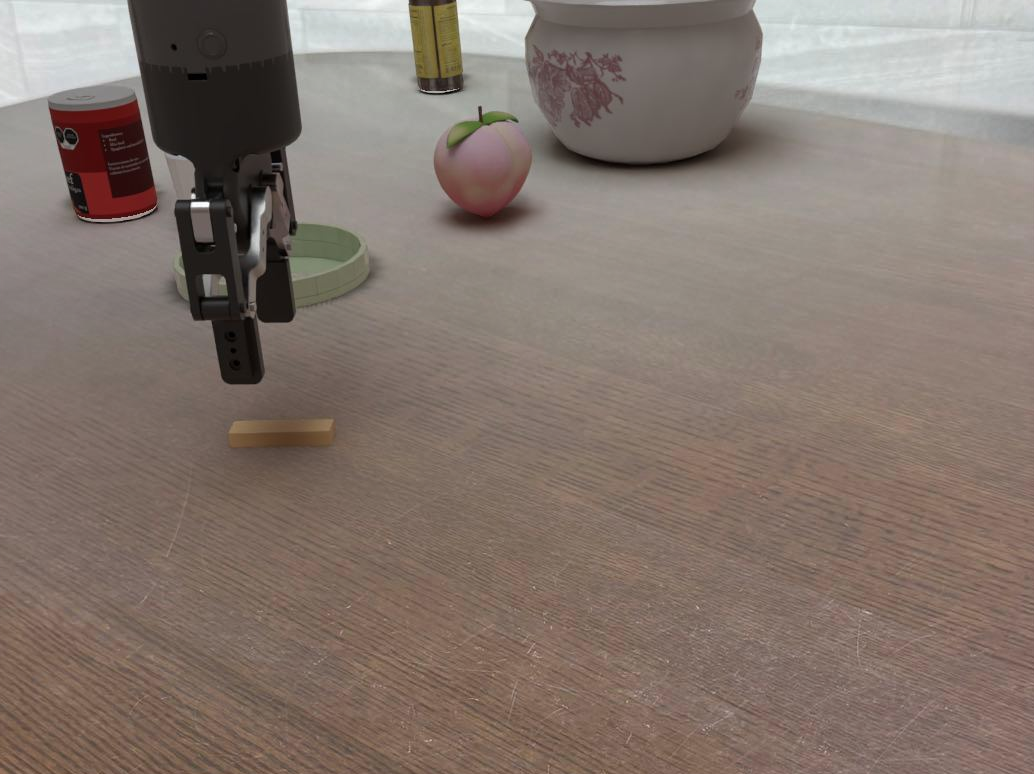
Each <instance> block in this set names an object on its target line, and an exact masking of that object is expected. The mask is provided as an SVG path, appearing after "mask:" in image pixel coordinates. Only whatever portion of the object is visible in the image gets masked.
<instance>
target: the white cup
mask: <svg viewBox="0 0 1034 774" xmlns="http://www.w3.org/2000/svg"><path fill="white" fill-rule="evenodd" d="M164 156H165V160H166V163H167V168H168V171H169V174H170V178H171V181H172V185H173V189H174V192H175V194H176V195H175V196H176V198H177V200H188V199H190V195H191V189H192V187H195V177H194V172H195V168H194V166H193V163H192V162H191V161H189V160H188V159H186V158H185V157H182V156H180V155H179V156H174V155H170V154H168V153H166V152H164Z"/></svg>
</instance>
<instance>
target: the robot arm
mask: <svg viewBox="0 0 1034 774" xmlns="http://www.w3.org/2000/svg"><path fill="white" fill-rule="evenodd" d="M287 1H288V0H126V3H127V9H128V15H129V20H130V25H131V31H132V36H133V42H134V46H135V52H136V57H137V64H138V68H139V73H140V79H141V84H142V90H143V95H144V100H145V105H146V112H147V116H148V122H149V126H150V132H151V138H152V141H153V143H154V144H155V146H156V147H157V148H158V149H159V150H161V152H164V153H165V152H166V153H168V154H170V155H174V156H179V155H180V156H182V157H185V158H186V159H188V160H189V161H191V162H192V163H193V166H194V168H195V172H194V177H195V187H192V189H191V195H190V199H188V200H178V199H176V200H175V203H174V209H173V213H174V217H175V222H176V223H175V224H176V228H177V235H178V241H179V246H180V250H181V253H182V259H183V265H184V271H185V278H186V284H187V290H188V296H189V301H188V302H189V311H190V314H191V317H192V319H193V321H194V322H206V321H211V322H210V323H211V327H212V334H213V338H214V343H215V350H216V355H217V361H218V366H219V373H220V377H221V380H222V381H223V382H224V383H225V384H227V385H231V386H233V385H234V386H235V385H236V386H238V385H243V386H244V385H246V386H247V385H249V386H250V385H258V384H260V383H261V382H262V380H263V378H264V376H265V374H266V369H265V362H264V356H263V349H262V343H261V336H260V330H259V323H258V321H260V322H261V323H264V324H288V323H291V322H292V321H293V320H294V318H295V316H296V314H297V307H295V299H294V292H293V284H292V279H293V277H292V274H291V270H290V262H289V258H285V257H290V256H291V254H292V250H293V243H292V242H291V238H290V236H295V235H296V230H297V228H298V224H297V222H298V221H297V220H296V212H295V204H294V198H293V191H292V185H291V178H290V170H289V163H288V156H287V149H286V148H287V147H288V146H290V145H292V144H293V143H295V142H296V141H298V139H299V137H300V136H301V134H302V131H303V124H302V116H301V108H300V98H299V91H298V90H299V89H298V82H297V74H296V67H295V66H296V65H295V58H294V52H293V51H294V50H293V42H292V41H293V40H292V34H291V25H290V18H289V10H288V2H287ZM211 245H215V246H211ZM238 254H244V255H238ZM202 274H203V276H202ZM222 278H224V280H225V282H226V286H227V293H228V295H219V282H220V280H221V279H222Z"/></svg>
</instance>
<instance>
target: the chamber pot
mask: <svg viewBox="0 0 1034 774" xmlns="http://www.w3.org/2000/svg"><path fill="white" fill-rule="evenodd" d="M524 1H525V2H529V3H530V4H531V6H532V10H533V11H534V17H533V19H532V21H531V24H530V25H529V28H528V30H527V32H526V34H525V37H524V56H525V67H526V71H527V76H528V80H529V84H530V88H531V93H532V97H533V101H534V103H535V105H536V106H537V108H538V110H539V111H540V113H541V114H542V116H543V118H544V119H545V121H546V123H547V124H548V125H549V128H550V129H551V130H552V132H553V134H554V135H555V137H556V138H557V139H558V140H559V141H560V143H562V144H563V145H564V146H565V148H567V149H568V150H569V151H571V152H574V153H576V154H578V155H581V156H583V157H587V158H590V159H593V160H595V161H600V162H604V163H609V164H616V165H627V166H630V165H631V166H638V165H639V166H645V165H647V166H648V165H660V164H662V165H663V164H669V163H674V162H680V161H684V160H687V159H690V158H692V157H695V156H698V155H700V154H703V153H705V152H709V151H711V150H713V149H715V148H716V147H717V146H718V145H720V144H721V143H722V142H723V141H724V140H725V139H726V138H727V137H728V136H729V135H730V133H731V132H732V130H733V129H734V128H735V126H736V124H737V122H738V121H739V120H740V118H741V116H742V114H743V113H744V111H745V110H746V108H747V107H748V105H749V103H750V102H751V100H752V99H753V95H754V92H755V91H754V90H755V87H756V82H757V79H758V75H759V71H760V67H761V63H762V54H763V39H764V33H763V30H762V29H763V28H762V26H761V24H760V22H759V20H758V18H757V15H756V12H755V10H754V7H755V4H756V2H757V0H524Z"/></svg>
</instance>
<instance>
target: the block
mask: <svg viewBox="0 0 1034 774" xmlns="http://www.w3.org/2000/svg"><path fill="white" fill-rule="evenodd" d="M335 425H336V423H335V419H334V418H307V419H306V418H305V419H304V418H302V419H266V420H265V419H263V420H259V419H258V420H257V419H256V420H234V421H233V423H232V424H231V427H230V429H229V431H228V432H227V434H228V439H229V445H230V448H233V449H234V448H273V447H274V448H275V447H279V448H280V447H317V446H318V447H319V446H320V447H321V446H332V445H333V443H334V440H335V437H336V434H337V432H336V426H335Z"/></svg>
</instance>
